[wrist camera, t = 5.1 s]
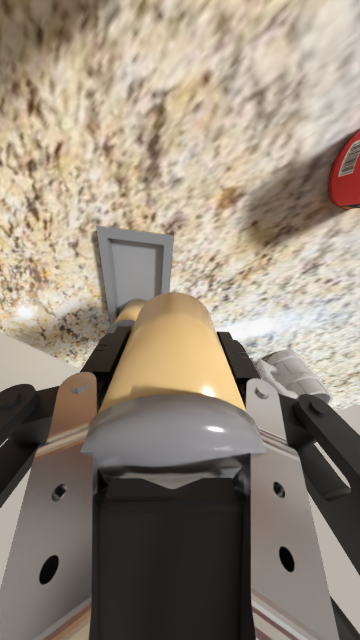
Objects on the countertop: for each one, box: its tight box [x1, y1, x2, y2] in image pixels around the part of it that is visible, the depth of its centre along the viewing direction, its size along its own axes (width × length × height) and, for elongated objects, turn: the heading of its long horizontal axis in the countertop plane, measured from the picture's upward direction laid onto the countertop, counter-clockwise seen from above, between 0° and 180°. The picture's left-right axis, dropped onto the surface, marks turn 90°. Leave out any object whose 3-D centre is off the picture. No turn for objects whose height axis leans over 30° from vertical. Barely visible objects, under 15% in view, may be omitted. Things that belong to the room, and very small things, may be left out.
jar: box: [80, 293, 267, 489], centre depth 8 cm, size 6×6×8 cm
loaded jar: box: [107, 299, 148, 334], centre depth 25 cm, size 6×6×8 cm
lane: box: [96, 226, 174, 327], centre depth 25 cm, size 24×10×6 cm, turn 173°
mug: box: [257, 350, 333, 404], centre depth 31 cm, size 8×12×12 cm, turn 75°
